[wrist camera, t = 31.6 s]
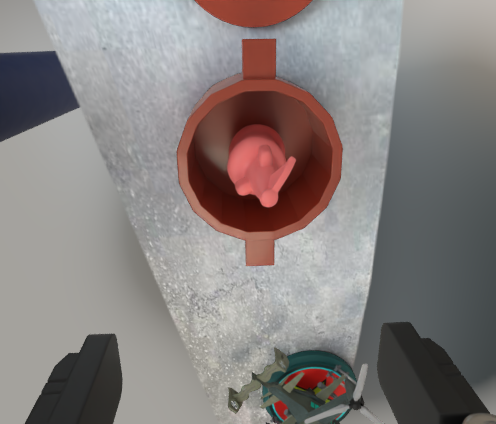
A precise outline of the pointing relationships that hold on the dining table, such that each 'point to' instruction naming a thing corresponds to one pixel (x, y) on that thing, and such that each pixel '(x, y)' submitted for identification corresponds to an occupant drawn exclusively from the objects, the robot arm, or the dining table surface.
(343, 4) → the dining table surface
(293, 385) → the toy helicopter
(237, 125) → the pan
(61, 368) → the robot arm
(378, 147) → the dining table surface
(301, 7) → the lid
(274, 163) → the figurine
